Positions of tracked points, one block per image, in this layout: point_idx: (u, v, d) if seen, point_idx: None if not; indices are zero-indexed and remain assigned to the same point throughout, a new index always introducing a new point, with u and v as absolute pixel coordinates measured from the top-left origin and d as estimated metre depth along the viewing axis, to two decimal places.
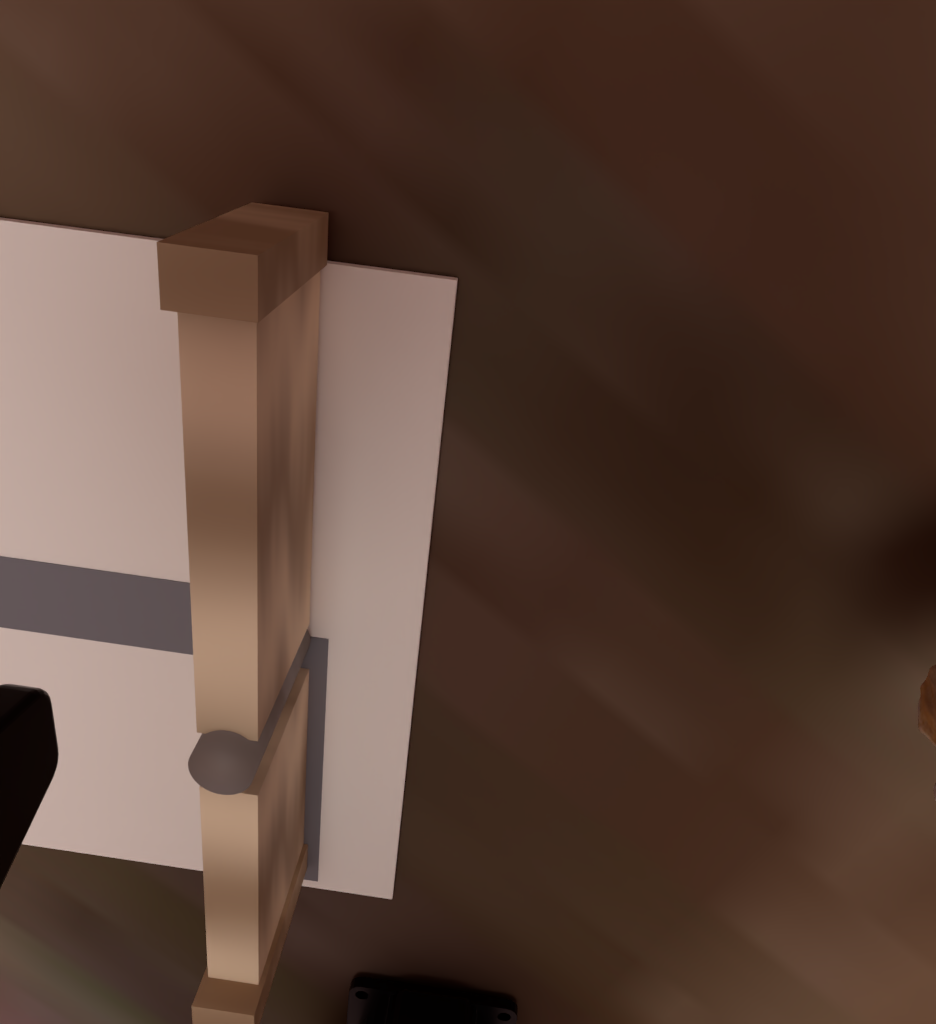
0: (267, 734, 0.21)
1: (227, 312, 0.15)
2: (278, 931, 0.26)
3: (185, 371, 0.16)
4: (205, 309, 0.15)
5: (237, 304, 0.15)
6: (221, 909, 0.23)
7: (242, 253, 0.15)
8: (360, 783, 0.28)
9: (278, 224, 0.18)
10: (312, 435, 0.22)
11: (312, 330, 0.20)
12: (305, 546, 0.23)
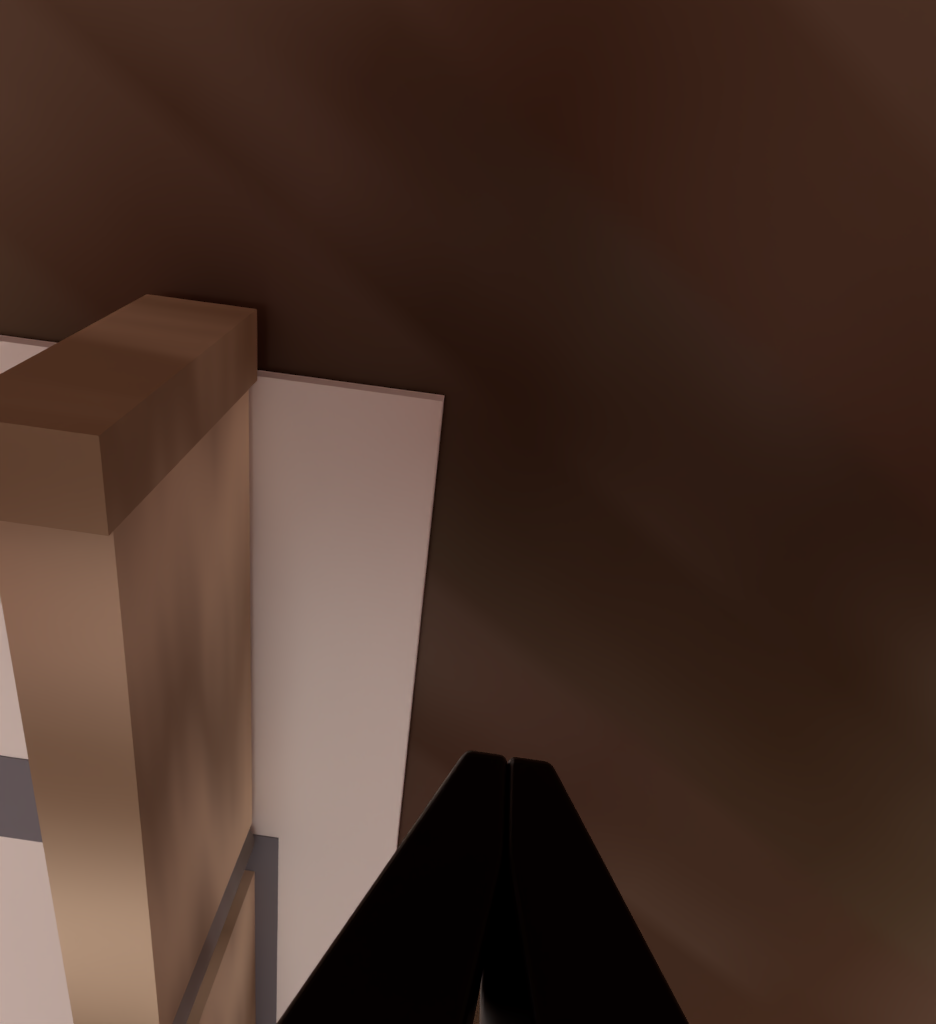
0: (180, 1023, 0.15)
1: (57, 520, 0.09)
2: None
3: (8, 592, 0.10)
4: (21, 514, 0.09)
5: (72, 508, 0.09)
6: None
7: (73, 432, 0.09)
8: None
9: (168, 345, 0.12)
10: (245, 602, 0.16)
11: (237, 472, 0.14)
12: (239, 742, 0.17)
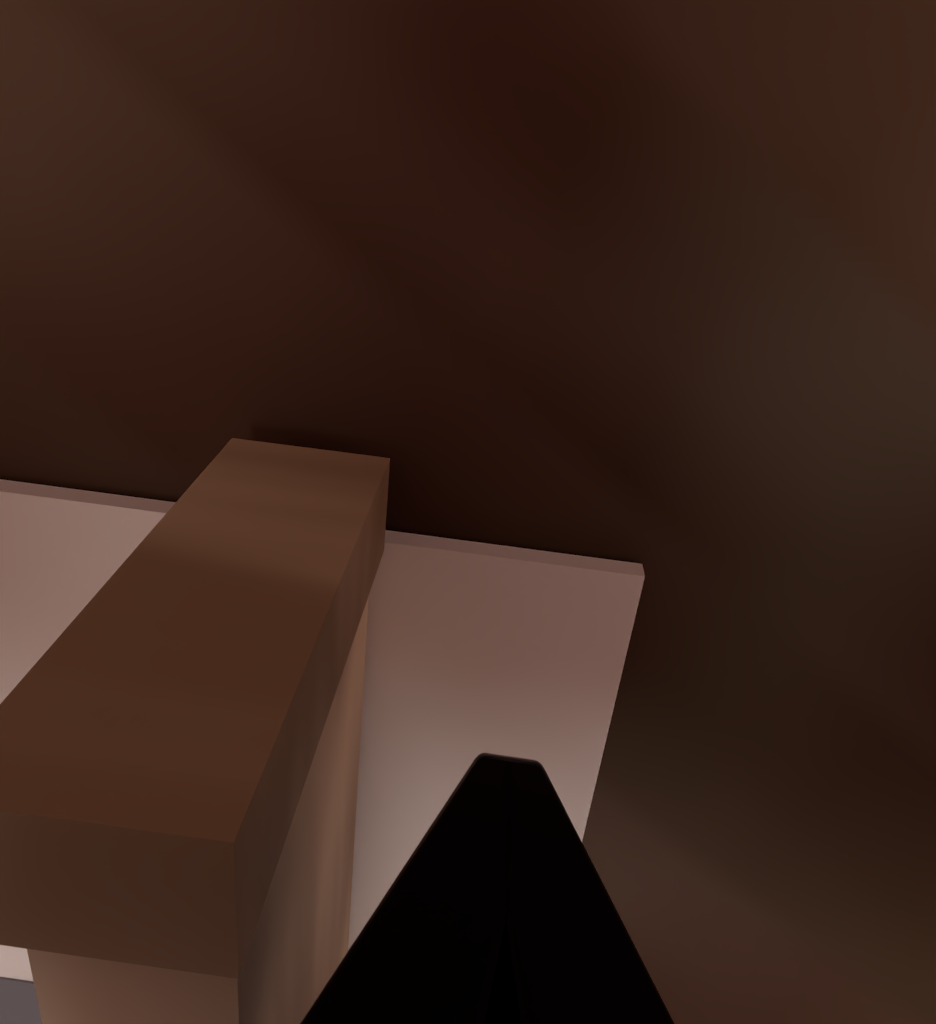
0: None
1: (146, 955, 0.05)
2: None
3: (52, 1006, 0.06)
4: (84, 946, 0.05)
5: (177, 940, 0.05)
6: None
7: (186, 836, 0.05)
8: None
9: (289, 553, 0.07)
10: (351, 825, 0.12)
11: (355, 677, 0.10)
12: None
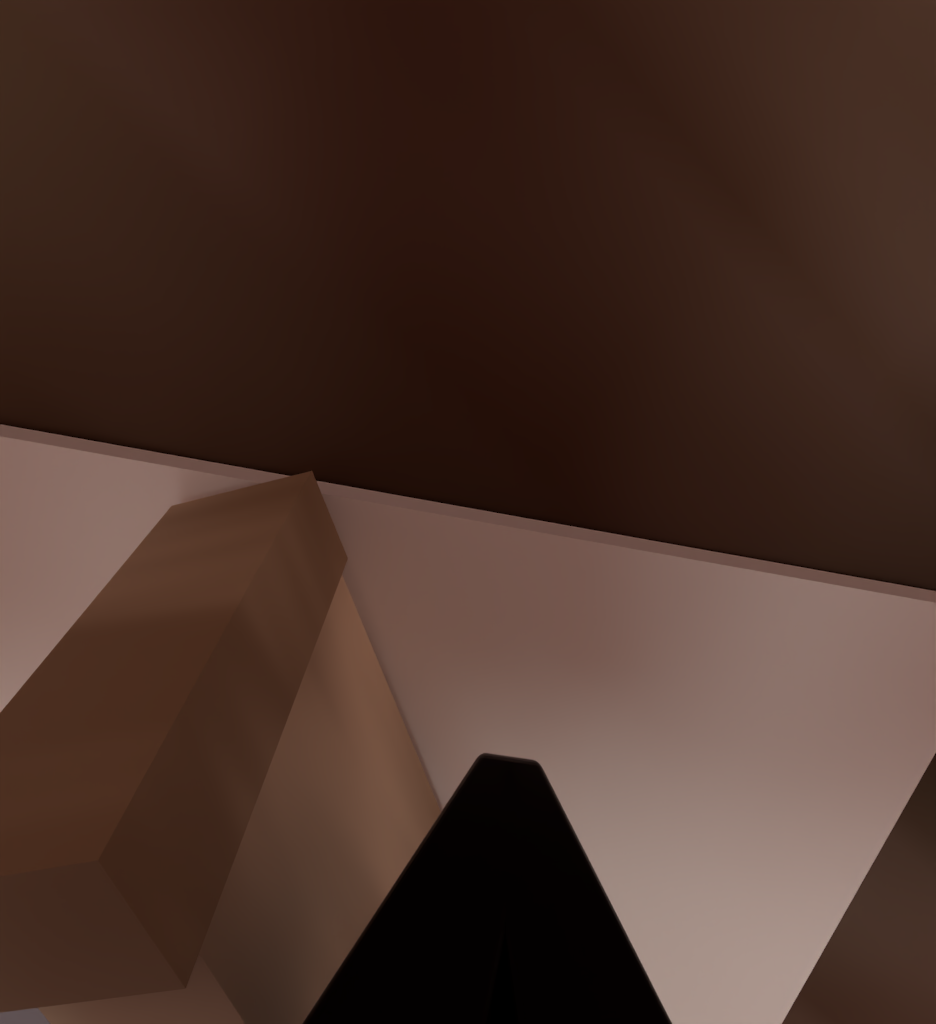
0: None
1: (99, 986, 0.05)
2: None
3: None
4: (46, 995, 0.06)
5: (114, 967, 0.05)
6: None
7: (57, 867, 0.05)
8: None
9: (202, 588, 0.08)
10: None
11: (367, 686, 0.10)
12: None
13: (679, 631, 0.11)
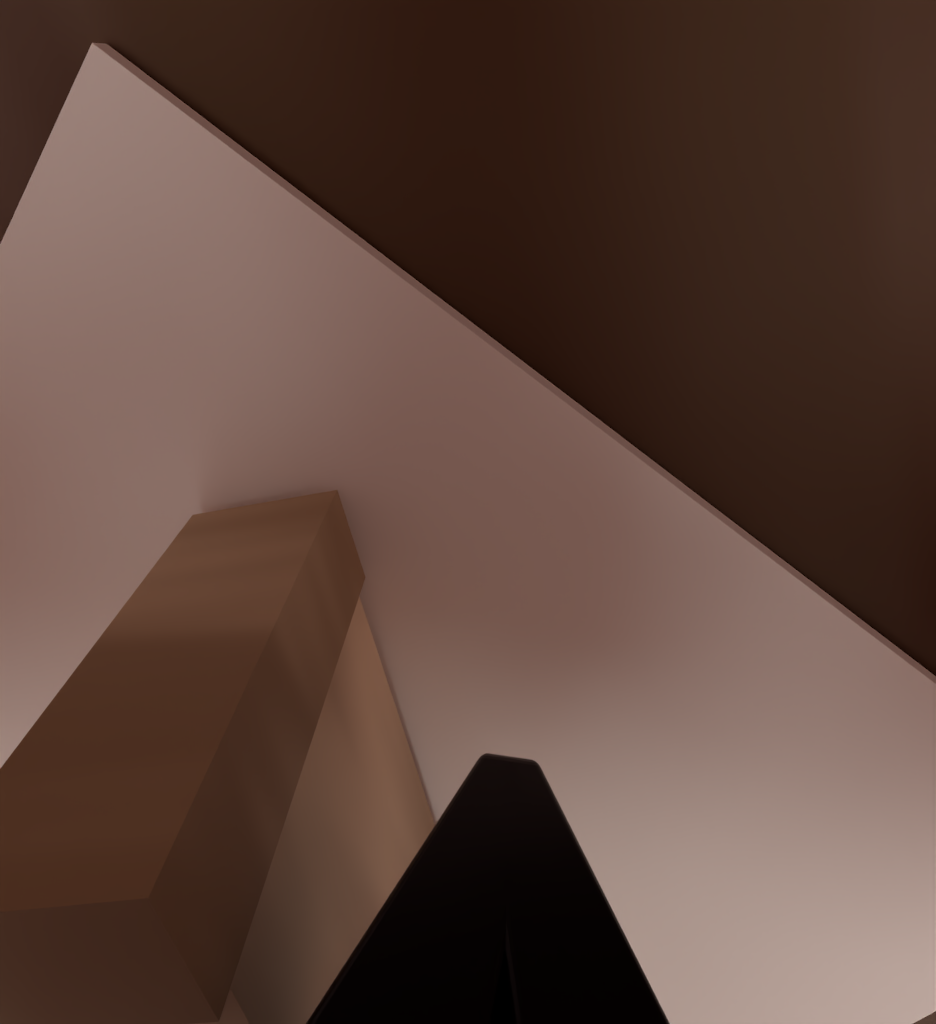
0: None
1: (131, 1017, 0.06)
2: None
3: None
4: (76, 1021, 0.06)
5: (149, 998, 0.05)
6: None
7: (105, 902, 0.05)
8: None
9: (232, 609, 0.08)
10: None
11: (376, 704, 0.10)
12: None
13: None
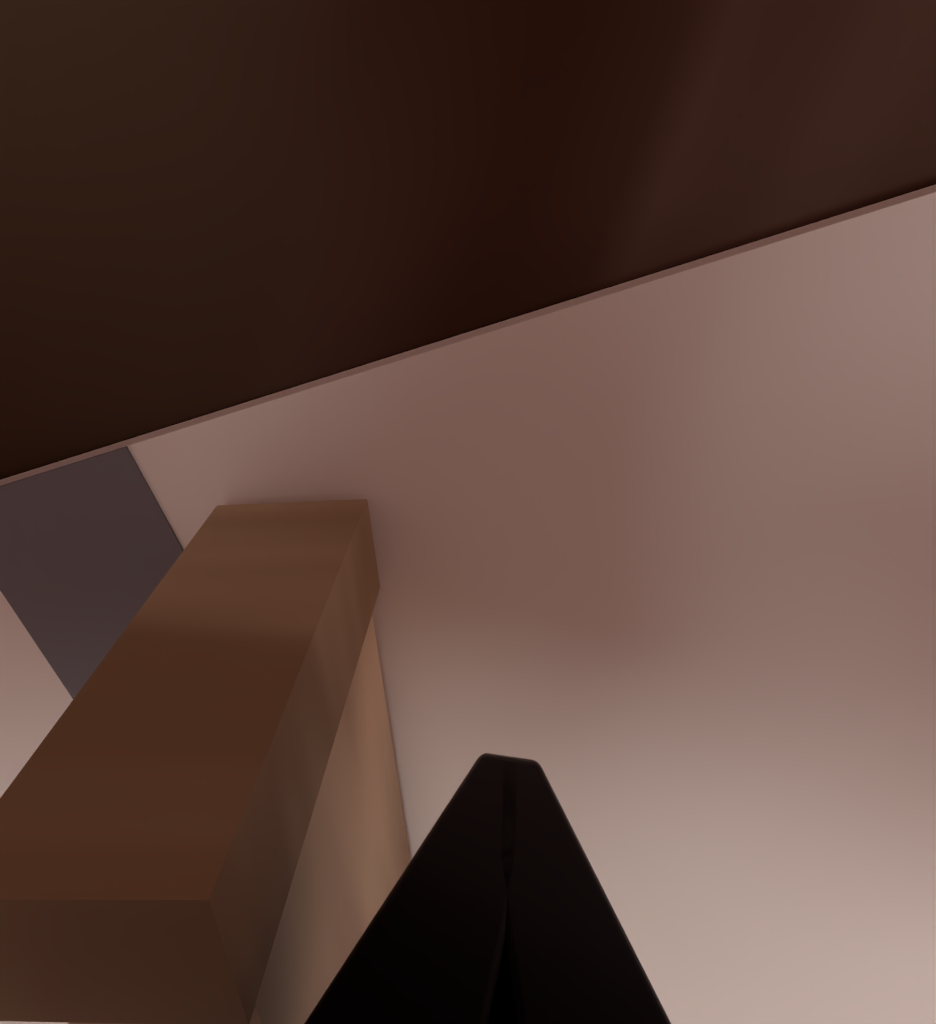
0: None
1: (161, 1013, 0.06)
2: None
3: None
4: (103, 1013, 0.06)
5: (183, 996, 0.05)
6: None
7: (165, 900, 0.05)
8: None
9: (268, 610, 0.08)
10: (404, 855, 0.12)
11: (374, 713, 0.10)
12: None
13: None
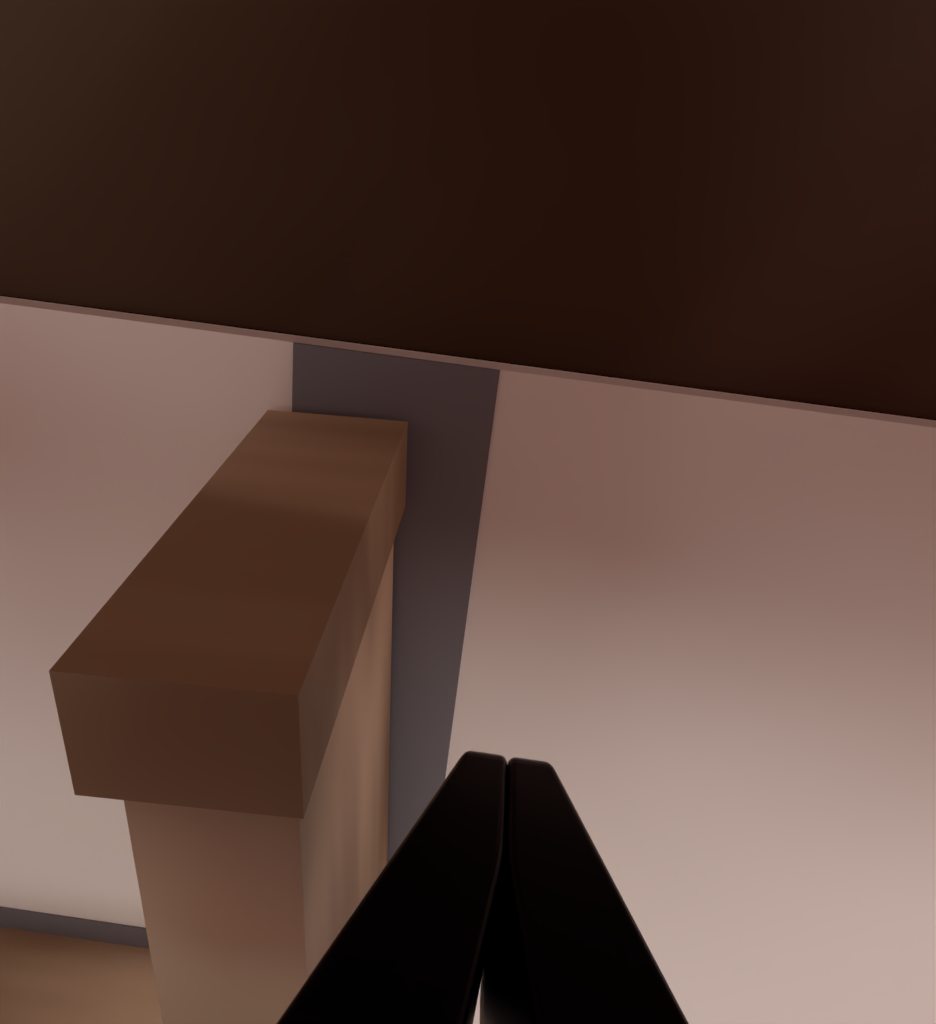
0: None
1: (229, 800, 0.06)
2: None
3: (147, 869, 0.08)
4: (178, 795, 0.06)
5: (253, 786, 0.06)
6: None
7: (260, 691, 0.06)
8: None
9: (325, 496, 0.09)
10: (386, 762, 0.13)
11: (385, 620, 0.11)
12: None
13: None
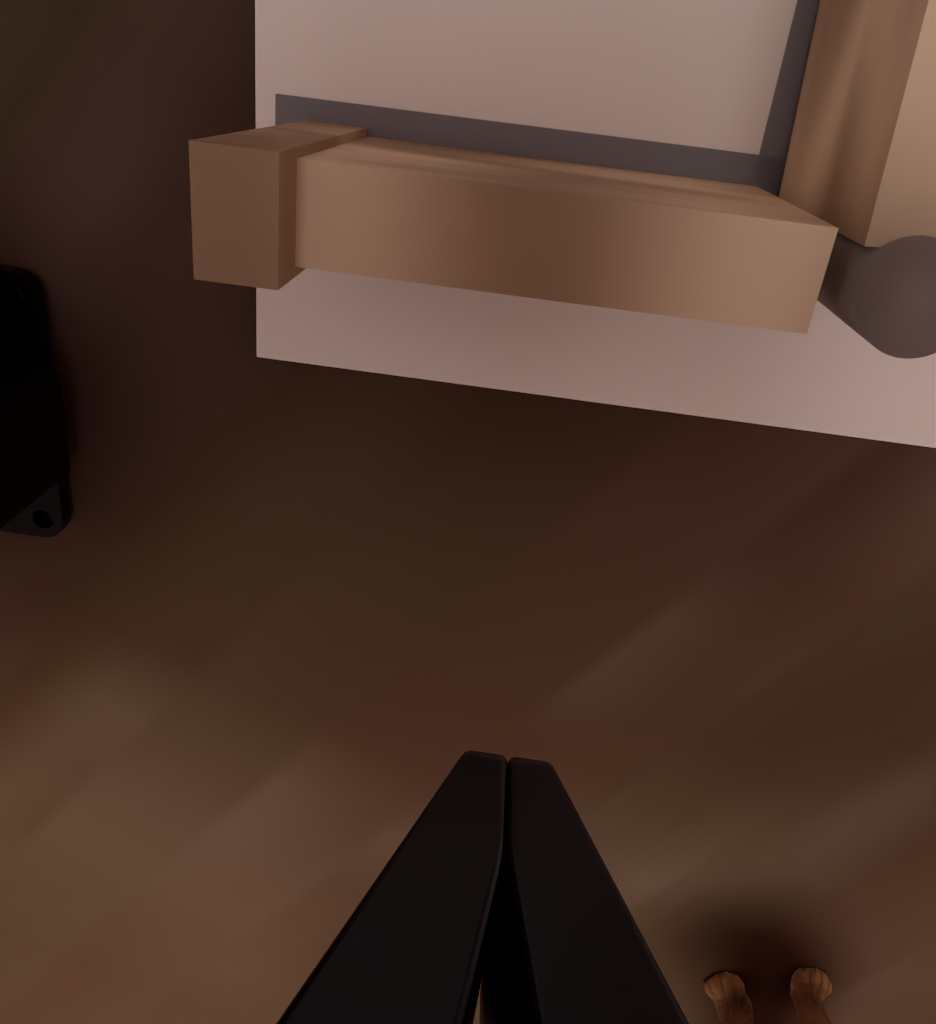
0: None
1: None
2: None
3: None
4: None
5: None
6: (509, 221, 0.12)
7: None
8: (505, 324, 0.18)
9: None
10: None
11: None
12: None
13: None
